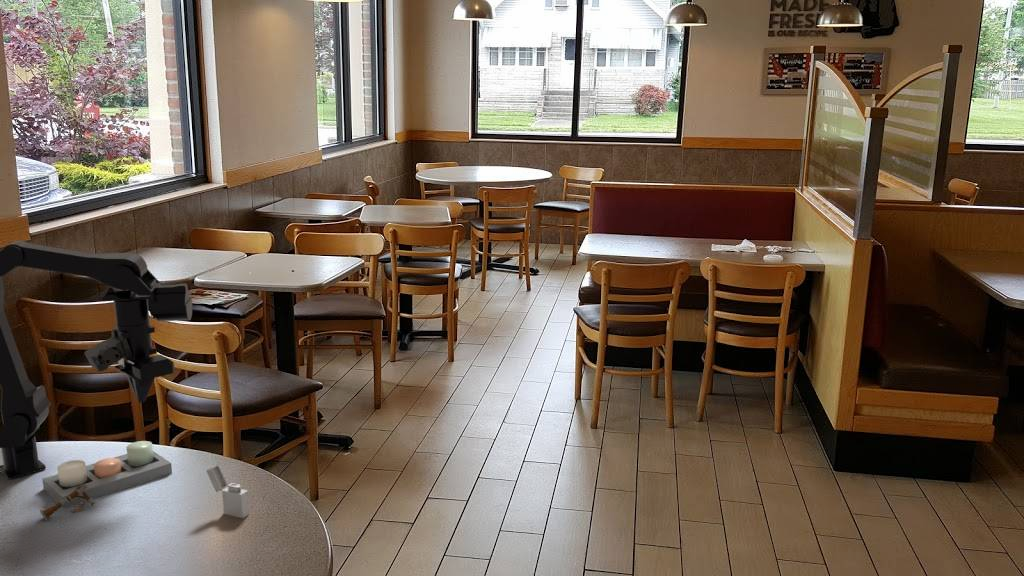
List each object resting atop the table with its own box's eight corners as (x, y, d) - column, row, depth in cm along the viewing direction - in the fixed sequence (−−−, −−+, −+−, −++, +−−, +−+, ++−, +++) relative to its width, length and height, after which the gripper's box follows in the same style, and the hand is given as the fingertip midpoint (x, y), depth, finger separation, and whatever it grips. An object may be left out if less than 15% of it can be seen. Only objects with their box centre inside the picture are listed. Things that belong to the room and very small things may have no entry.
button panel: (43, 488, 156) (42, 478, 155) (148, 457, 169) (147, 447, 169) (64, 507, 149) (62, 496, 149) (172, 472, 162) (171, 463, 162)
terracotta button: (91, 478, 159) (89, 463, 158) (116, 471, 162) (114, 456, 161) (101, 486, 156) (99, 470, 155) (126, 478, 159) (124, 463, 158)
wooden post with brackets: (100, 502, 149) (86, 482, 147) (55, 532, 146) (40, 513, 144) (98, 498, 151) (83, 479, 149) (53, 528, 147) (38, 509, 145)
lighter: (249, 513, 147) (246, 469, 145) (243, 518, 146) (239, 474, 144) (216, 506, 150) (212, 462, 148) (209, 510, 148) (205, 466, 146)
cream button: (55, 481, 154) (53, 465, 154) (81, 473, 157) (79, 458, 157) (64, 489, 151) (62, 473, 151) (91, 481, 154) (89, 465, 154)
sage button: (124, 460, 163) (122, 445, 162) (147, 453, 166) (145, 439, 165) (134, 467, 160) (132, 452, 159) (157, 460, 163) (156, 445, 162)
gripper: (68, 321, 162) (77, 400, 165) (108, 341, 149) (118, 427, 153) (128, 310, 169) (136, 386, 173) (172, 328, 157) (179, 410, 160)
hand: (141, 402), depth 165 cm, fingers closed
